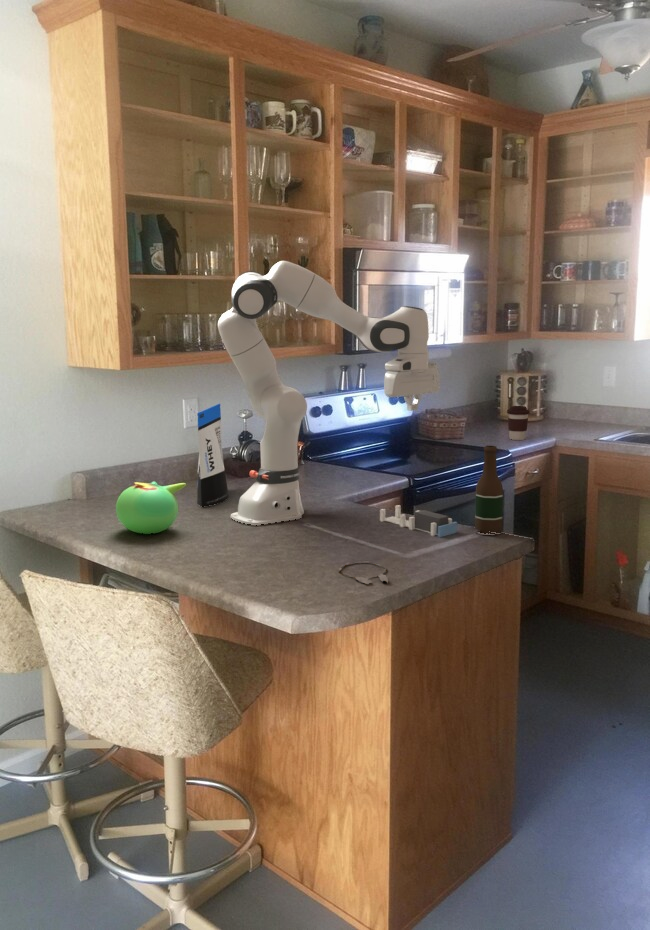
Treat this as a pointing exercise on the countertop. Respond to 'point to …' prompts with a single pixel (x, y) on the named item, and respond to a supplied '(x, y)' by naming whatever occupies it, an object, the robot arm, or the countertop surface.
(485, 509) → the beer bottle
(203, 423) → the protein powder
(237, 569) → the countertop surface
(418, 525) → the gray rectangular block
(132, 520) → the round green spouted pot
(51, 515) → the countertop surface
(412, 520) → the white peg rack
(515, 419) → the coffee cup
